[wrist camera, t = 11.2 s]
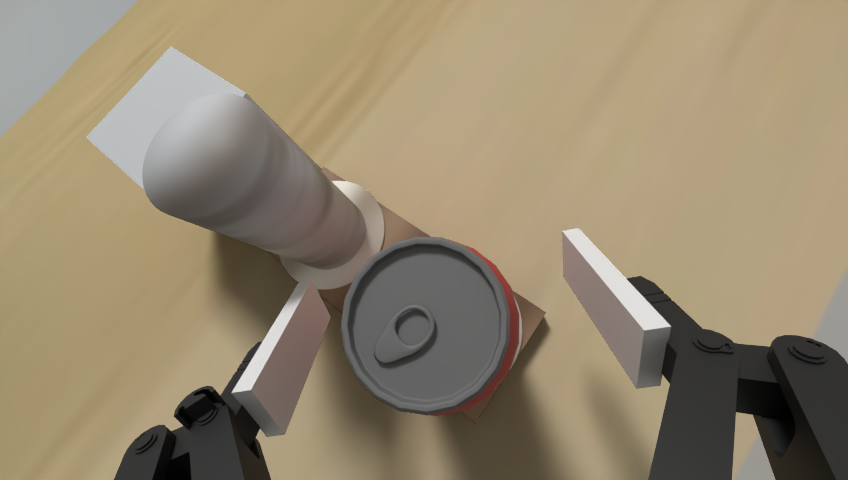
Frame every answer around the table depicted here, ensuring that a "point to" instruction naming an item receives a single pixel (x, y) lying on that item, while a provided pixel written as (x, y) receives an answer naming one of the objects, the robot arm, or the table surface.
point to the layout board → (277, 200)
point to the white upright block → (157, 109)
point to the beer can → (430, 326)
